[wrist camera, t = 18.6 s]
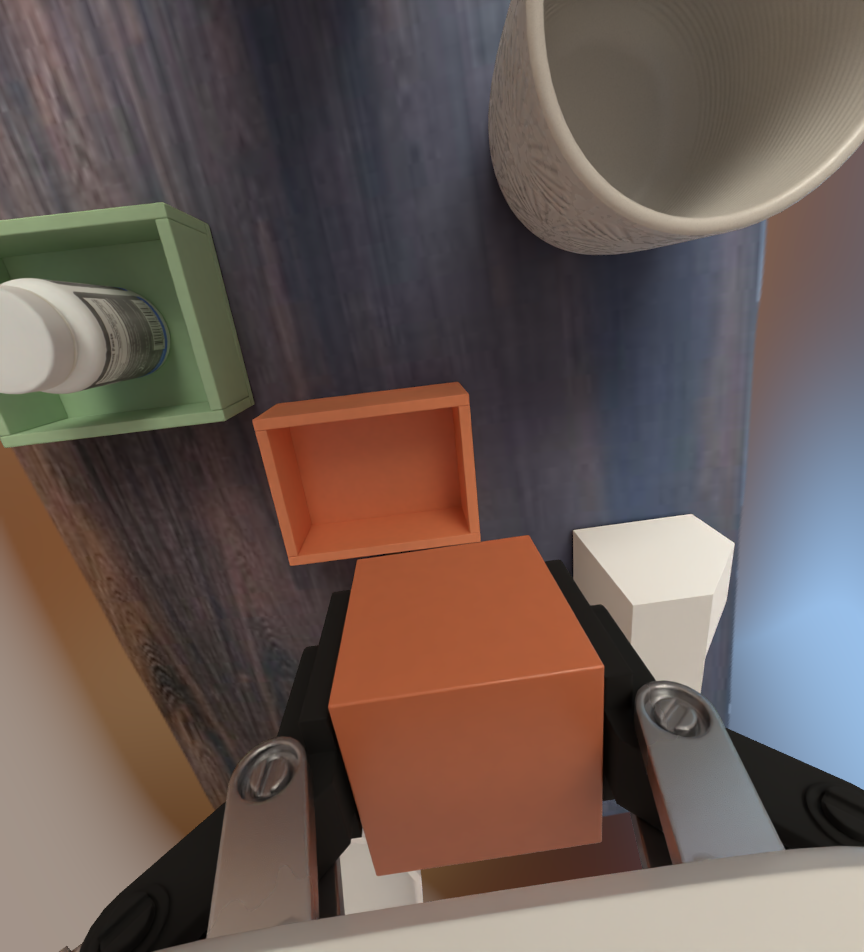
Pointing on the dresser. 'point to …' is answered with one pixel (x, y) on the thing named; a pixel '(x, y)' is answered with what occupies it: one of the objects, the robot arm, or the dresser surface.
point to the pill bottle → (76, 336)
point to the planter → (670, 114)
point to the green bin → (161, 283)
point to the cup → (374, 882)
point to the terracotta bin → (371, 472)
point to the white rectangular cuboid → (658, 588)
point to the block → (467, 708)
